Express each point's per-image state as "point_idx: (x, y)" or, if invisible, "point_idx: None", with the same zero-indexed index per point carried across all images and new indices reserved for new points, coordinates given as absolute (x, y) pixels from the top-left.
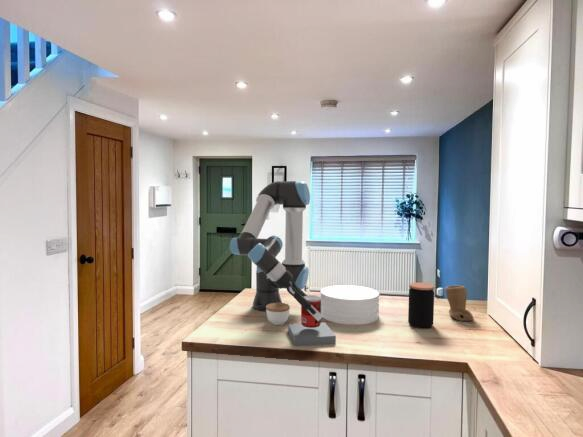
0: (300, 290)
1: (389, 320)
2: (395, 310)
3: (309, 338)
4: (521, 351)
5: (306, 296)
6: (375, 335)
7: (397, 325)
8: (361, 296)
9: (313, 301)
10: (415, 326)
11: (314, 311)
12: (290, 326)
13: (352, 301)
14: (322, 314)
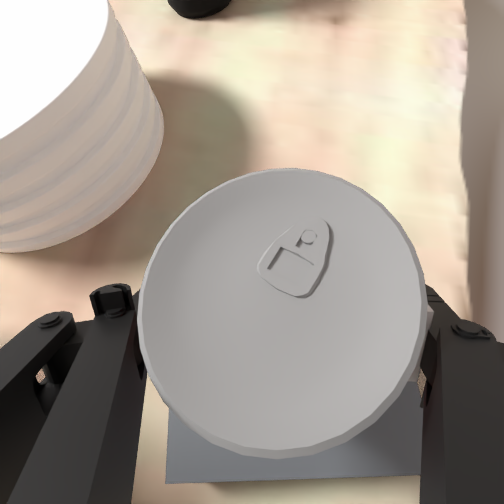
0: (23, 489)
1: (149, 54)
2: None
3: None
4: None
5: (166, 344)
6: (276, 102)
7: (196, 42)
8: (58, 17)
9: (416, 271)
10: (220, 7)
11: (435, 296)
12: (212, 473)
13: (103, 60)
14: (27, 243)
